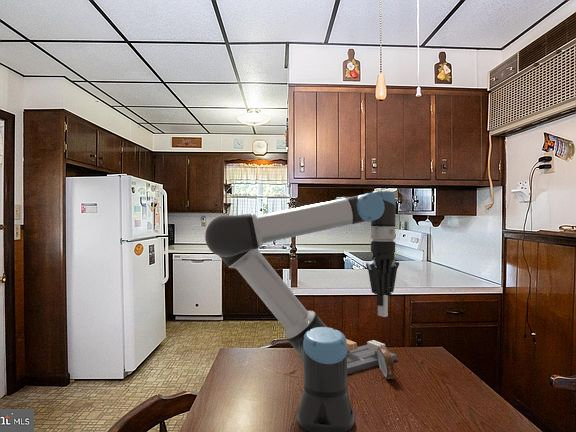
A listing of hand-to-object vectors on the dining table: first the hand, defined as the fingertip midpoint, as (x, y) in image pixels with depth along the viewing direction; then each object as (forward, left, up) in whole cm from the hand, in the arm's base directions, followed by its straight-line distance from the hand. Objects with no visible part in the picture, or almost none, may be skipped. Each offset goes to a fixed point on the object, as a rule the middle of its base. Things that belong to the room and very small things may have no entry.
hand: (382, 315), depth 118 cm
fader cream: (+19, +22, -22) cm, 36 cm away
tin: (+12, +10, -24) cm, 29 cm away
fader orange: (+11, +29, -22) cm, 37 cm away
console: (+11, +25, -24) cm, 36 cm away
